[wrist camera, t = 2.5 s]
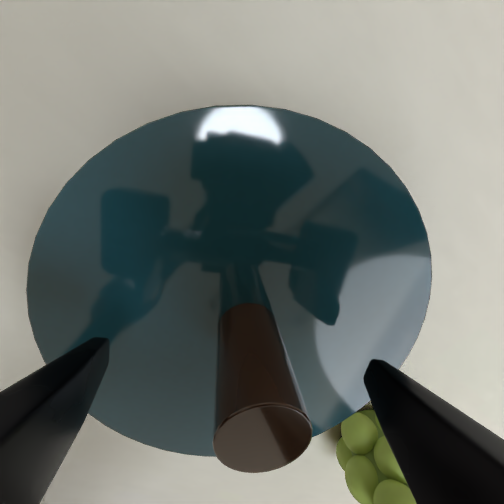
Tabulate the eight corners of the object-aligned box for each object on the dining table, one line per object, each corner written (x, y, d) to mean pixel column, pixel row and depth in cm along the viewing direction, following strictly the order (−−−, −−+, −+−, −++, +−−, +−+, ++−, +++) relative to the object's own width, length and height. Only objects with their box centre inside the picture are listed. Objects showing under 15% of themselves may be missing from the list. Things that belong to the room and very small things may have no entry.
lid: (242, 470, 14) (253, 631, 9) (-36, 325, 9) (-326, 504, 4) (467, 302, 12) (643, 401, 7) (249, -16, 7) (316, -480, 2)
